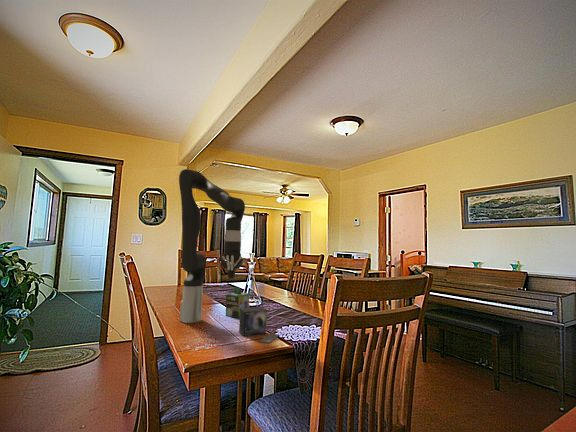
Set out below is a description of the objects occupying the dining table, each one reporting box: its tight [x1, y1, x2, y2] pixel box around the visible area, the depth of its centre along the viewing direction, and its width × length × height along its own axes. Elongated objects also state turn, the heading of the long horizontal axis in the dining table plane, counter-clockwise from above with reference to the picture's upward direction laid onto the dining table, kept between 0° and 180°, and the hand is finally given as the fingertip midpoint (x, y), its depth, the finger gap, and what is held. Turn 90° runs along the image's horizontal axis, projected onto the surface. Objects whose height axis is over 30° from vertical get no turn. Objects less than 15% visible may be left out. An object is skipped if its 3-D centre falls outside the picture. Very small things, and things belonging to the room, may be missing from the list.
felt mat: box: [259, 332, 280, 344], centre depth 128 cm, size 4×11×1 cm, turn 161°
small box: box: [238, 306, 268, 337], centre depth 134 cm, size 11×6×10 cm, turn 117°
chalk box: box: [225, 287, 250, 319], centre depth 164 cm, size 9×9×15 cm
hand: (231, 278), depth 140 cm, fingers closed
